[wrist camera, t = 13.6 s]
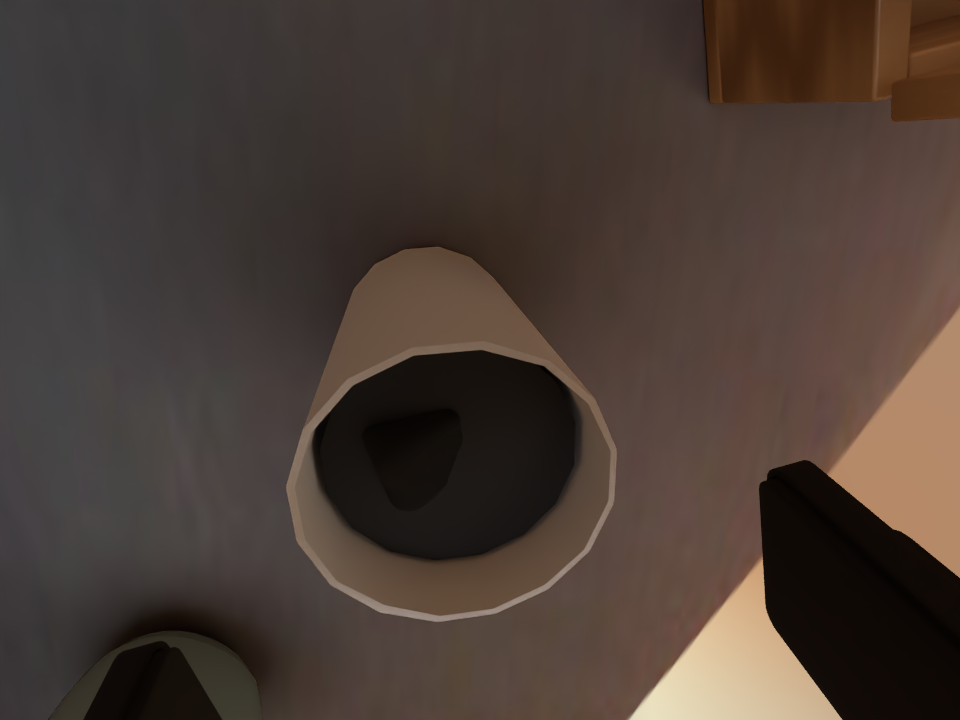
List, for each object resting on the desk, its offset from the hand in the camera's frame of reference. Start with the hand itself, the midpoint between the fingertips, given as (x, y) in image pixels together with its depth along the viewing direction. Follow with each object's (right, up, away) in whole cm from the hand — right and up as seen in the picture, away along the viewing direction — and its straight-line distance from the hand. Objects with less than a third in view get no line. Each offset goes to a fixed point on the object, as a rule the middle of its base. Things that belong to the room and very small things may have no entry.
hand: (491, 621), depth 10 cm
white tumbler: (-2, +5, +12) cm, 13 cm away
